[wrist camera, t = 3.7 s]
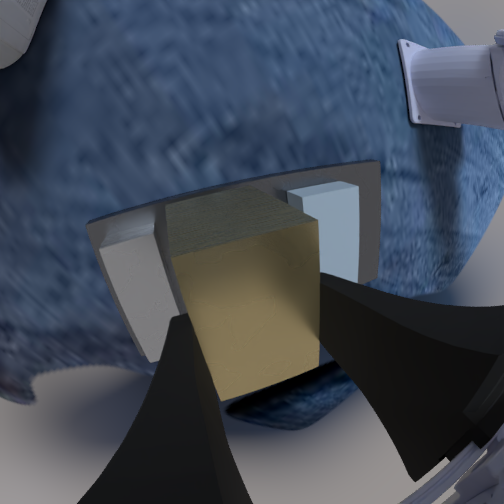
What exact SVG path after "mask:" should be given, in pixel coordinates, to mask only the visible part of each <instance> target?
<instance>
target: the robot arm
mask: <svg viewBox="0 0 504 504" xmlns="http://www.w3.org/2000/svg"><path fill="white" fill-rule="evenodd" d="M494 39H495V41H496V44H493V45H469V46H453V47H442V48H434V49H428V48H425V47H423V46H420V45H418V44H415V43H412V42H410V41H407V40H404V39H399V40H398V45H399V50H400V54H401V59H402V65H403V70H404V76H405V82H406V89H407V96H408V104H409V113H410V120H411V121H412V123H420V124H432V125H442V126H450V127H458V128H460V127H461V123H462V124H470V125H477V126H483V127H489V128H495V129H500V130H504V29H502V30H498V31H497V33H496V35H495V36H494ZM319 341H320V342H321V344H322V345H323V346H324V348H326V350H327V351H328V352H329V353H330V355H331V356H332V357H333V358H334V359H335V361H336V362H337V363H338V364H339V365H340V366H341V368H342V369H343V370H344V371H345V372H346V373H347V374H348V376H349V377H350V378H351V379H352V380H353V381H354V383H355V384H356V385H357V386H358V388H359V389H360V390H361V391H362V393H363V394H364V396H365V397H366V398H367V400H368V402H369V403H370V405H371V406H372V408H373V409H374V411H375V412H376V414H377V416H378V417H379V419H380V420H381V422H382V424H383V425H384V427H385V429H386V430H387V432H388V434H389V436H390V438H391V439H392V441H393V443H394V445H395V447H396V449H397V451H398V453H399V455H400V457H401V459H402V461H403V463H404V465H405V467H406V470H407V472H408V474H409V476H410V477H411V478H412V479H413V481H414V482H416V481H418V480H419V479H420V478H422V477H423V476H424V475H425V474H426V473H428V472H429V471H430V470H431V469H433V468H434V467H435V466H436V465H437V464H438V463H439V462H441V461H442V460H443V459H444V458H445V457H447V459H448V460H449V461H450V463H448V464H447V465H446V466H445V467H444V468H443V469H442V470H441V471H440V472H438V473H437V474H436V475H435V476H434V477H433V478H431V479H430V480H429V481H428V482H427V483H425V484H424V485H423V486H422V487H420V488H419V489H418V490H417V491H415V492H414V493H413V494H411V495H410V496H408V497H407V498H406V499H404V500H403V501H402V502H400V503H399V504H431V503H432V502H434V501H435V500H436V499H437V498H438V497H439V496H441V495H442V494H443V493H444V492H445V491H446V490H448V489H449V488H450V487H451V486H452V485H453V484H454V483H455V482H456V481H457V480H458V479H459V478H460V477H461V476H462V475H463V474H464V473H465V472H466V471H467V470H468V469H469V468H470V467H471V466H472V465H473V463H475V461H476V460H477V459H478V458H479V457H480V456H481V455H482V454H483V452H484V451H485V450H486V449H487V454H486V455H484V456H483V457H482V458H481V459H480V460H479V461H478V462H476V463H475V464H474V465H473V466H472V467H471V468H470V469H469V470H468V471H467V472H466V473H465V474H464V475H463V476H462V477H461V479H460V480H459V481H458V482H457V484H456V485H455V487H454V489H455V490H456V492H455V493H454V494H453V495H451V496H450V497H449V498H448V499H447V500H446V501H444V502H443V503H442V504H504V305H502V306H491V307H465V306H452V305H442V304H435V303H429V302H424V301H418V300H413V299H409V298H405V297H401V296H397V295H394V294H390V293H386V292H383V291H380V290H377V289H373V288H370V287H367V286H364V285H361V284H358V283H355V282H352V281H349V280H346V279H343V278H340V277H337V276H334V275H331V274H327V273H323V272H320V324H319ZM77 504H253V503H252V501H251V498H250V496H249V494H248V493H247V490H246V487H245V485H244V483H243V480H242V478H241V476H240V473H239V471H238V468H237V466H236V463H235V461H234V458H233V456H232V453H231V451H230V448H229V445H228V442H227V438H226V435H225V431H224V427H223V422H222V419H221V414H220V410H219V405H218V401H217V396H216V392H215V387H214V382H213V379H212V376H211V374H210V371H209V369H208V366H207V363H206V361H205V358H204V355H203V353H202V350H201V347H200V344H199V341H198V339H197V336H196V333H195V330H194V327H193V324H192V323H191V321H190V318H189V315H188V313H185V314H181V315H177V316H174V317H172V318H171V319H170V321H169V327H168V331H167V335H166V339H165V343H164V346H163V350H162V353H161V356H160V359H159V362H158V366H157V368H156V371H155V374H154V376H153V379H152V382H151V384H150V387H149V390H148V392H147V394H146V397H145V399H144V401H143V404H142V406H141V408H140V410H139V412H138V414H137V416H136V418H135V420H134V422H133V424H132V426H131V428H130V429H129V431H128V433H127V435H126V437H125V439H124V440H123V442H122V444H121V445H120V447H119V449H118V450H117V451H116V453H115V454H114V456H113V457H112V459H111V460H110V462H109V463H108V465H107V466H106V468H105V469H104V471H103V472H102V474H101V475H100V476H99V478H98V479H97V480H96V482H95V483H94V484H93V485H92V486H91V488H90V489H89V490H88V491H87V492H86V494H85V495H84V496H83V497H82V498H81V499H80V501H79V502H78V503H77Z"/></svg>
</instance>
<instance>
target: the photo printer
mask: <svg viewBox="0 0 504 504" xmlns="http://www.w3.org/2000/svg"><path fill="white" fill-rule="evenodd" d="M46 1H47V0H0V69H1V68H5V67H8V66H9V65H11V64H13V63H14V62H16V61H17V60H18V59H19V58H20V57H21V56H22V54H24V53H25V52H26V51H27V49H28V46H29V44H30V42H31V39H32V37H33V34H34V32H35V29H36V26H37V23H38V21H39V18H40V16H41V13H42V11H43V8H44V6H45V4H46Z"/></svg>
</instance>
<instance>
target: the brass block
mask: <svg viewBox="0 0 504 504" xmlns="http://www.w3.org/2000/svg"><path fill="white" fill-rule="evenodd" d="M165 210H166V220H167V230H168V239H169V247H170V255H171V260H172V264H173V267H174V270H175V274H176V277H177V280H178V284H179V287H180V290H181V293H182V296H183V300H184V303H185V306H186V309H187V312H188V315H189V318H190V321H191V323H192V324H193V327H194V330H195V333H196V336H197V339H198V341H199V344H200V347H201V350H202V353H203V355H204V358H205V361H206V363H207V366H208V369H209V371H210V374H211V376H212V379H213V382H214V385H215V388H216V390H217V393H218V395H219V397H220V400H221V401H224V400H227V399H231V398H234V397H237V396H240V395H244V394H247V393H250V392H253V391H256V390H259V389H261V388H264V387H267V386H270V385H273V384H275V383H278V382H281V381H283V380H286V379H289V378H291V377H294V376H296V375H299V374H301V373H304V372H306V371H308V370H311V369H313V368H315V367H318V366H319V342H320V341H319V324H320V251H319V225H318V220H317V219H315V218H313V217H311V216H310V215H308V214H306V213H304V212H302V211H300V210H298V209H296V208H294V207H292V206H290V205H288V204H287V203H285V202H283V201H281V200H279V199H277V198H275V197H273V196H271V195H269V194H267V193H265V192H263V191H260V190H258V189H256V188H254V187H252V186H245V187H240V188H235V189H230V190H226V191H221V192H217V193H212V194H208V195H203V196H199V197H195V198H191V199H187V200H183V201H179V202H175V203H171V204H167V205H165Z"/></svg>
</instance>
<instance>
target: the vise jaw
mask: <svg viewBox="0 0 504 504" xmlns="http://www.w3.org/2000/svg"><path fill="white" fill-rule="evenodd" d="M287 198H288V205H290V206H292V207H294V208H296V209H298V210H300V211H302V212H304V213H306V214H308V215H310V216H311V217H313V218H315V219H317V220H318V225H319V251H320V272H323V273H327V274H331V275H334V276H337V277H340V278H343V279H346V280H349V281H352V282H355V283H358V264H359V186H356V185H353V184H349V183H346V182H342V181H337V182H331V183H326V184H320V185H315V186H310V187H304V188H299V189H294V190H289V191H287Z"/></svg>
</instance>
